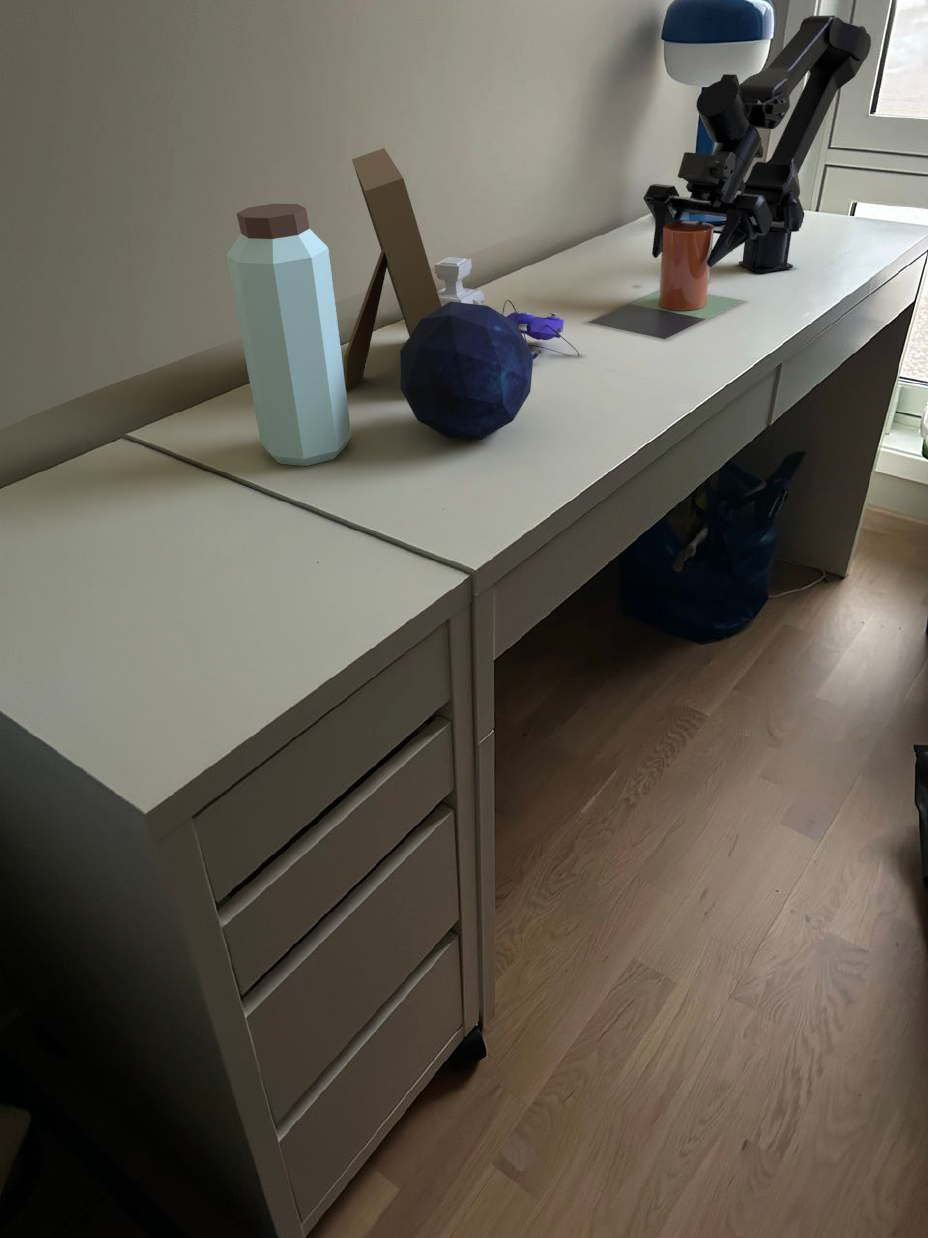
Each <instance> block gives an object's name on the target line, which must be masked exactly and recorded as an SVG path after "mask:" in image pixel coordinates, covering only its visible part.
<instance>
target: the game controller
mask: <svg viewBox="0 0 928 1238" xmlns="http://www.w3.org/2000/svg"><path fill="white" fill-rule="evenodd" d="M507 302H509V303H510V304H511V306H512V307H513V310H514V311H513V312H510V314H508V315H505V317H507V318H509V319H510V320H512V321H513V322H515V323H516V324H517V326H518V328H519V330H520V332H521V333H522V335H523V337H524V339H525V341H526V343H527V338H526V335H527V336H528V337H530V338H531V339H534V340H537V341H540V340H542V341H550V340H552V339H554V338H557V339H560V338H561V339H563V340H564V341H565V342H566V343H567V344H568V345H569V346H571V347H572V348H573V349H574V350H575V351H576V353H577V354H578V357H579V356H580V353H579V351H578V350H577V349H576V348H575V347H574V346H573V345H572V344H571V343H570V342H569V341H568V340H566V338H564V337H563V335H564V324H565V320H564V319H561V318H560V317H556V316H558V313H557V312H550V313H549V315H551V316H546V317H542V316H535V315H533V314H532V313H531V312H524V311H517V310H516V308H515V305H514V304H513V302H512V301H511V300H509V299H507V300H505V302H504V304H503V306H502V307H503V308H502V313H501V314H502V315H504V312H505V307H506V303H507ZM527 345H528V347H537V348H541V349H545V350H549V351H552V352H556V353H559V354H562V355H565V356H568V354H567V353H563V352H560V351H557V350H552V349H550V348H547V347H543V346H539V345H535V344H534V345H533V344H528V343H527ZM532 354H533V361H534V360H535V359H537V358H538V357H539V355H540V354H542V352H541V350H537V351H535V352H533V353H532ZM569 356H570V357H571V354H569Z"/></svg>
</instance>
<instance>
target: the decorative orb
mask: <svg viewBox="0 0 928 1238" xmlns="http://www.w3.org/2000/svg"><path fill="white" fill-rule="evenodd" d="M502 314H503V313H501V312H499V311H498V310H497V309H494V308H493V307H491V306H490V305H486V304H481V305H478V304H468V303H459V302H449V303H447V304H446V305H444V306H442V307H441V308H439V309H437V310H436V311H434V312H432V313H431V314H429V315H427V316H426V317H424V318H423V319H421V320H420V322H419V323H418V325H417V326H416V328H415V329H414V331H413V332H412V334H411V335H410V337H409V336H408V339H407V340H406V341H405V343H404V345H403V346H402V348H401V349H400V351H399V352H400V353H399V388H400V390H401V393H402V394H403V397H404V398H405V400H406V402H407V404H408V407H409V408H410V410H411V412H412V414H413V415H414V417H415V419H416V421H417V422H419V423H421V424H423V425H424V426H426V427H428V428H430V430H431V429H432V430H433V431H434V432H437V433H438V434H440V435H442V436H443V437H445V438H447V439H448V440H449V439H451V440H452V439H453V440H479V441H480V440H483V439H485V438H487V437H488V436H490V435H492V434H493V433H495V432H496V431H498V430H500V429H501V428H503V427H505V426H507V425H509V424H510V423H512V422H513V421H514V420H515V419H516V417H517V415H518V413H519V412H520V410H521V409H522V407H523V405H524V403H525V402H526V400H527V398H528V397H529V395H530V394H531V389H532V387H531V386H532V376H533V366H534V360H533V354H534V353H533V352H532V350H531V348H530V346H528V345H529V344H528V343H527V342H526V341H527V340H526V341H525V338H524V334H522V333H521V332H520V330H519V328H518V326H517V324H516V323H515V322H513V321H512V320H510V319H509V318H507V317H506V315H504V314H503V315H502ZM527 344H528V345H527Z"/></svg>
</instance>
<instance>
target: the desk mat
mask: <svg viewBox="0 0 928 1238" xmlns="http://www.w3.org/2000/svg"><path fill="white" fill-rule="evenodd" d="M658 299H659V291H657V292H655V293H652V294H650V295H647V296H645V297H642V298H640V299H638V300H636V301H634V302H632V303H629V304H627V305H625V306H622V307H620V308H618V309H615V310H613V311H611V312H608V313H606V314H603V315H601V316H600V317H597V318H595V319H593V320H590V321H588V323H590V324H594V325H599V326H604V327H607V328H613V329H617V330H622V331H626V332H632V333H634V334H640V335H643V336H644V335H645V336H649V337H654V338H659V339H663V340H667V339H668V338H671V337H673V336H675V335H676V334H679V333H681V332H682V331H685V330H687V329H688V328H689V329H690V328H691V327H693V326H695V325H697V324H700V323H701V322H703V321H705V320H707V319H710V318H712V317H714V316H716V315H718V314H719V313H722V312H723V311H726V310H728V309H730V308H732V307H734V306H736V305H738V304H740V303H742V302H743V300H741V299H736V298H735V299H734V298H729V297H723V296H718V295H713V294H708V295H707V304H706V306H704V307H703V308H700V309H696V310H687V311H679V310H670V309H666V308H663V307H661V306H660V305H659V304H658Z"/></svg>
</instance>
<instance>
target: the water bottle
mask: <svg viewBox="0 0 928 1238" xmlns="http://www.w3.org/2000/svg"><path fill="white" fill-rule="evenodd" d="M236 218H237V222H238V226H239V227H238V228H239V231H240V234H239V236H238V237H237V238H236V240H235V241H234V243H233V244H232V246H231V248H230V249H229V250H228V252H227V253H226V259H227V265H228V271H229V276H230V281H231V287H232V288H231V289H232V292H233V298H234V302H235V303H234V304H235V308H236V315H237V319H238V326H239V331H240V336H241V342H242V348H243V352H244V359H245V364H246V369H247V374H248V380H249V386H250V391H251V396H252V403H253V407H254V411H255V412H254V414H255V418H256V419H255V420H256V423H257V424H256V425H257V429H258V435H259V440H260V444H261V445H262V446H263V448H264V449H265V450H266V451H267V452H268V453H269V455H270V456H271V457H272V458H273V459H274V460H275V461H276V462H277V463H278V464H280V465H289V466H290V465H291V466H300V467H309V466H312V465H316V464H320V463H325V462H329V461H332V460H334V459H335V458H337V456H339V455H340V453H342V452H343V450H344V449H345V448H346V447H347V445H348V443H349V442H350V440H351V438H352V429H351V421H350V414H349V405H348V397H347V396H348V395H347V390H346V387H345V379H344V362H343V356H342V348H341V339H340V332H339V324H338V316H337V308H336V299H335V292H334V282H333V276H332V275H333V273H332V267H331V260H330V252H329V250H330V249H329V247H328V245H326V244H325V243H324V241H322V240H321V239H320V238H319V236H317V234H315V232H314V231H313V230H312V229H311V228H310V223H309V217H308V211H307V208H306V207H305V206H303V205H300V204H298V203H269V204H262V205H255V206H249V207H246V208H244V209H242V210H240V211H237V212H236Z"/></svg>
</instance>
